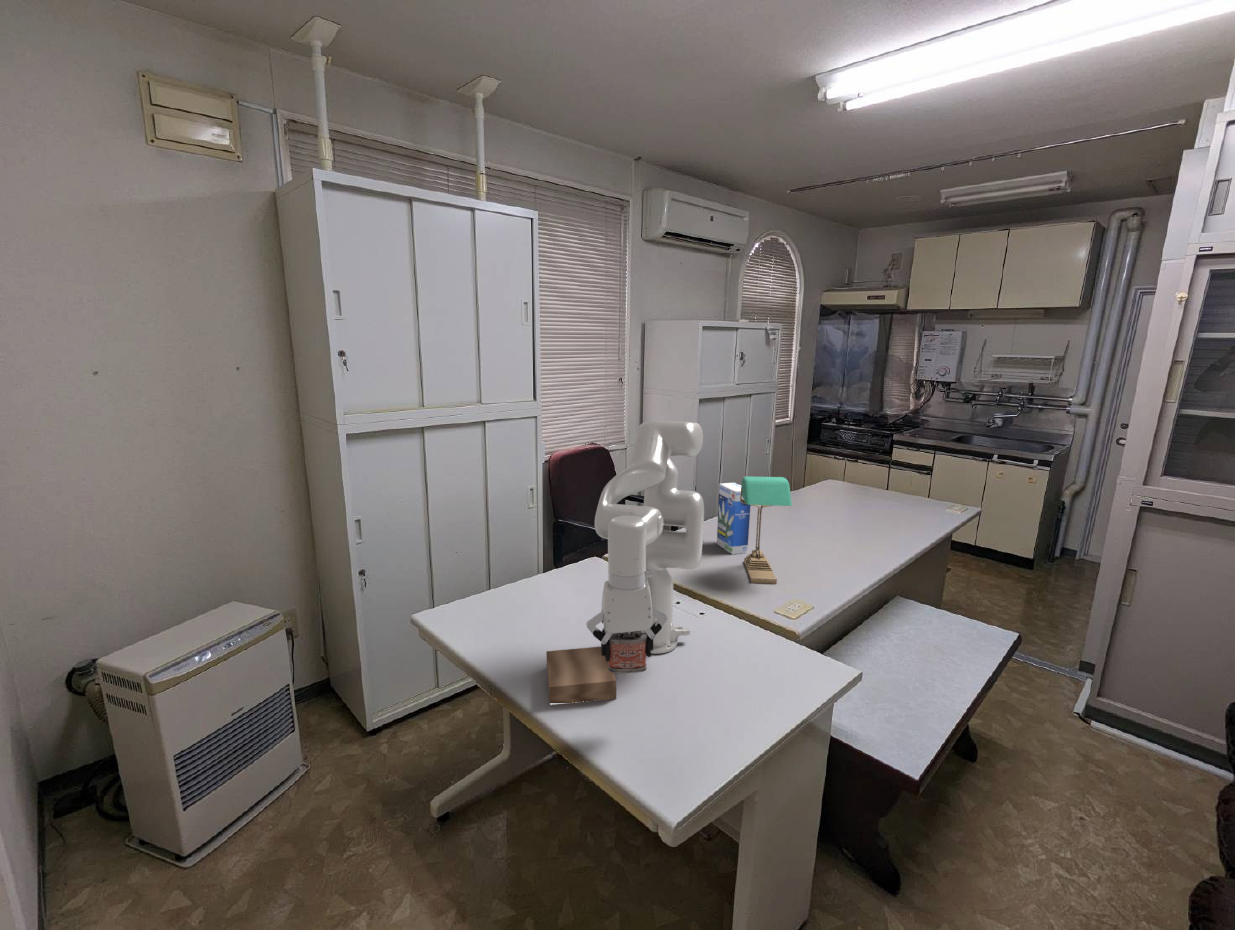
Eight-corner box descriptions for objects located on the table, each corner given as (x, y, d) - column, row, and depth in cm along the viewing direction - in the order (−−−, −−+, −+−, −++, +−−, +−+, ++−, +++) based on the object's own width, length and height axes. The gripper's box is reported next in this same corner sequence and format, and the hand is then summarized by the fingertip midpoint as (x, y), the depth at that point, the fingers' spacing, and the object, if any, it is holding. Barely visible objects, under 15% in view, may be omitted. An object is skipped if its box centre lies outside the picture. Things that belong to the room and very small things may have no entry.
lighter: (645, 663, 115) (646, 620, 113) (647, 672, 112) (647, 629, 109) (607, 664, 115) (607, 621, 112) (608, 673, 111) (607, 629, 109)
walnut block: (606, 664, 137) (606, 646, 136) (616, 700, 123) (616, 680, 122) (546, 669, 135) (546, 651, 134) (549, 707, 120) (549, 687, 119)
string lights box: (716, 543, 224) (718, 483, 219) (732, 542, 227) (735, 482, 222) (731, 554, 212) (734, 490, 207) (749, 552, 214) (752, 489, 209)
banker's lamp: (776, 563, 204) (782, 472, 197) (788, 586, 183) (795, 485, 176) (734, 561, 205) (738, 471, 198) (741, 584, 185) (746, 484, 178)
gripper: (664, 566, 114) (663, 641, 118) (581, 573, 111) (583, 649, 115) (674, 582, 106) (672, 661, 110) (586, 589, 103) (587, 670, 107)
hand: (627, 655), depth 112 cm, fingers closed on lighter, 8 cm apart
